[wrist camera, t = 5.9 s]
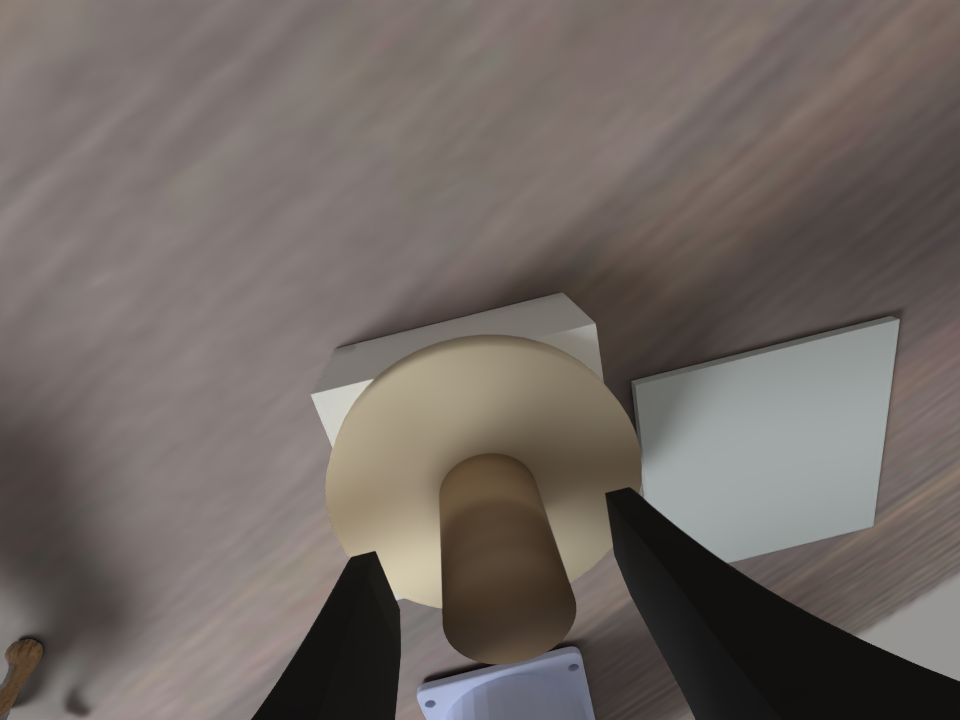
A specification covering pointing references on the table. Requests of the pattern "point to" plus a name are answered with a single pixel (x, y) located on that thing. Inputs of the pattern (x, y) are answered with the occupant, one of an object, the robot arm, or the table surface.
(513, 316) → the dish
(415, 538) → the lid
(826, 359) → the mat
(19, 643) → the lion figurine
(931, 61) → the table surface
